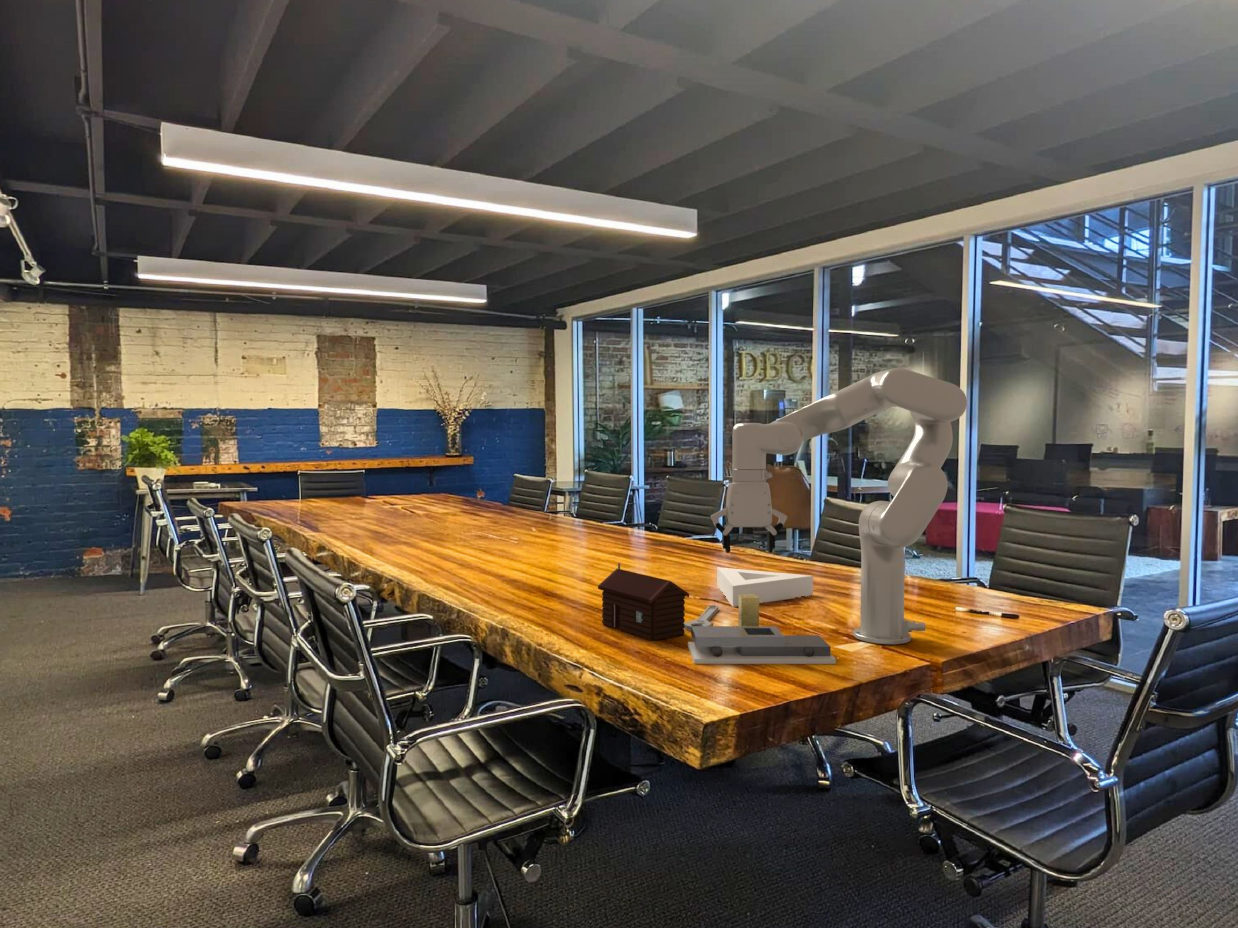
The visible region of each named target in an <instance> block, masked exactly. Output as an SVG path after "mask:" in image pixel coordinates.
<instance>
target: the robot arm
mask: <svg viewBox="0 0 1238 928" xmlns="http://www.w3.org/2000/svg"><path fill="white" fill-rule="evenodd" d="M966 395H967V394H966V393H965V392H964V391H963V389H961V387H959V386H958V385H956V384H954V383H952V382H949V381H946V380H941V379H939V378H936V377H932V376H929V375H926V374H922V373H919V372H916V371H913V370H910V369H906V368H899V367H894V368H890V369H885V370H880V371H878V372H875V373H873V374H870V375H869V376H866V377H864V378H863V379H860V380H858V381H856V382H854V383H852V384H850V385H848V386H846V387H844V388H841V389H839V390H838V391H837V390H836V391H835V392H833V393H830V394H829V395H826V396H824V397H822V398H820V399H818V400H816V401H814V402H812V403H810V404H807V405H806V406H803V407H802V408H800V409H797V410H795V411H793V412H790V413H789V414H787V415H784V416H783V417H780V418H778V419H776V420H774V421H772V422H770V423H764V424H763V423H760V422H741V423H740V422H737V423H736V424H734V425H733V428H732V451H731V452H732V462H731V463H732V465H731V466H732V471H731V472H732V473H731V475H732V476H731V477H732V478H731V479H732V480H731V482H729V483H728V486H727V492H726V501H725V503H726V504H725V508H722V509H721V510H719V511H716V512H715V513H713V514H711V515H710V519H711V521H712V523H713V525H714V526H715V528H716V529H717V531H718V532H720V533H721V534H722V549H724V551H725V552H726V553H727V554H729V553H731V535H730V532H731V531H732V529H733V528H765V529H766V530H767V534H766V551H767V552H768V553H770V554H771V553H772V554H773V552H774V551H773V550H774V549H775V548H776V535H777V534H778V532H780V531H781V530H782V529H783V527H784V525H785V523H786V521H787V519H788V515H786V514H785V513H783V512H781V511H778V510H777V509H775V508H773V507H772V497H771V495H772V494H771V489H770V484H769V483H768V482H767V480H768V479H771V478H773V472H772V471H768V470H767V469H766V468H767V454H773V455H780V456H789V455H790V456H791V455H792V454H794V453H796V452H798V451H799V450H800V449H801V447H802V445H803V443H804V442H806V441H808V440H811V439H813V438H815V437H819V436H822V435H825V434H830V433H835V432H839V431H842V430H845V429H848V428H850V427H853V426H854V425H856V424H859V423H860V422H862V421H864V420H867V419H868V418H870V417H873V416H874V415H876V414H879V413H882V412H883V411H885V410H887V409H891V408H893V407H894V408H895V407H898V408H900V409H904V410H907V411H909V413H910V415H911V417H912V420H913V423H914V424H913V425H914V434H913V436H912V439H911V441H910V443H909V445H908V446H907V448H906V450H905V451H904V453H903V454H902V455H901V457H900V459H899V460H898V462H897V463H896V465H895V467H894V468H893V469H892V471H891V472H890V475H889V477H888V479H887V489H888V492H889V493H890V495H892V497H893V498H892V499H891V501H887V500H877V501H873V502H870V503H868V504H867V505H866V506H865V507H864V508H863V509H862V511H861V512H860V514H859V519H858V532H859V533H858V534H859V542H860V550H861V551H860V554H861V555H860V556H861V559H860V562H861V563H860V564H861V565H860V566H861V567H860V568H861V569H860V623H859V624H860V627H856V628H854V629H853V633H852V634H853V637H854V638H855V639H858V640H860V641H863V642H867V643H873V644H880V645H901V644H907V643H909V642H910V641H911V640H912V635H911V633H912V631H916V632H925V631H926V623H925V622H916V620H910V621H909V620H907V619H906V618H905V574H906V573H905V572H906V559H905V550H904V549H905V548H907V547H910V546H912V545H914V543H915V542H917V541H918V539H919V538H920V537H921V536H922V535H923V534H924V531H926V528H927V526H928V525H929V523H931V521H932V520H933V518H934V517H935V514H936V513H937V511H938V510H939V508H940V506H941V505H942V503H943V501H944V500H945V498H946V495H947V492H948V488H949V487H948V478H947V475H946V474H945V471H943V470H942V467H943V466H944V463H945V461H946V459H948V456H949V454H950V452H951V450H952V446H953V439H954V436H953V435H954V434H953V428H952V423H951V422H954V421H957V420H958V419H960V418H961V417H962V416H963V415H964V413H966V410H967V406H968V399H967V396H966ZM724 516H725V523H726V524H725V525H724V526H723V525H722V524H721V522H720V521H719V519H720V518H722V517H724ZM773 516H775V517H777V518H778V521H777V523H776V524H774V525H773V526H772V522H773Z"/></svg>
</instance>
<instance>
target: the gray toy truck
mask: <svg viewBox="0 0 1238 928" xmlns="http://www.w3.org/2000/svg"><path fill="white" fill-rule="evenodd" d="M690 636H691V638H692V642H694V644H695V646H696V647H710V648H711V650H712V653H713V655H714V656H716V657H719V656H721V655H722V649H721V647H736V648H737V650H738V651H739V653H740V655H741V656H808V657H811V656H831V655H832V654H831V648H832V647H831V646H830V645H829V643H827V641H826V640H824V638H823V637H822V636H820V635H817V634H811V635H809V634H805V635H804V634H801V635H800V634H796V635H795V634H791V635H790V634H783V633H782V632H781V631H780V629H779V628H778V627H777V626H776V625H775V626H774V625H772V626H771V625H770V626H769V625H766V626H765V625H762V626H761V625H759V626H738V625H729V626H728V625H724V626H723V625H716V626H715V625H713V626H691V631H690Z"/></svg>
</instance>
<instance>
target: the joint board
mask: <svg viewBox="0 0 1238 928" xmlns="http://www.w3.org/2000/svg"><path fill="white" fill-rule="evenodd" d="M687 648H688V650H689V653H690V657H691V659H692V662H693V665H726V664H727V665H734V664H735V665H768V664H769V665H775V664H776V665H791V664H793V665H804V664H805V665H812V664H813V665H817V664H818V665H825V664H826V665H829V664H830V665H833V664H834V665H836V664H837V661H836V660H837V659H836V658H835V656H833V654H831V656H811V657H808V656H741V655H740V653H739V651H738V650H737V648H736V647H721V649H722V655H721V656H719V657H716V656H714V655H713V653H712V650H711V648H710V647H696V646H695V644H694V641H688V642H687Z"/></svg>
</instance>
